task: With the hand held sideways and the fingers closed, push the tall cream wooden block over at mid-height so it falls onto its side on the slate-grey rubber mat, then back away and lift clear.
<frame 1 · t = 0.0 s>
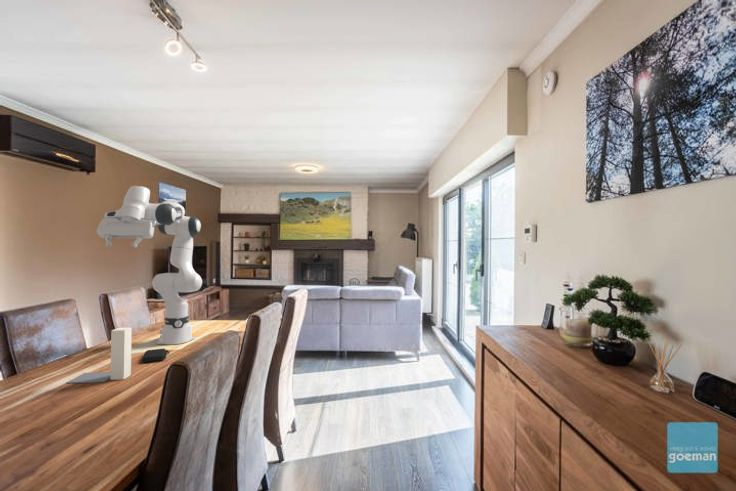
hand: (121, 246, 136), 54 cm above the table, tool tilted 30°, fingers open, 8 cm apart
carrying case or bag: (155, 359, 163), on the table
slate mat: (93, 378, 138), on the table
cream block: (120, 377, 139), on the table
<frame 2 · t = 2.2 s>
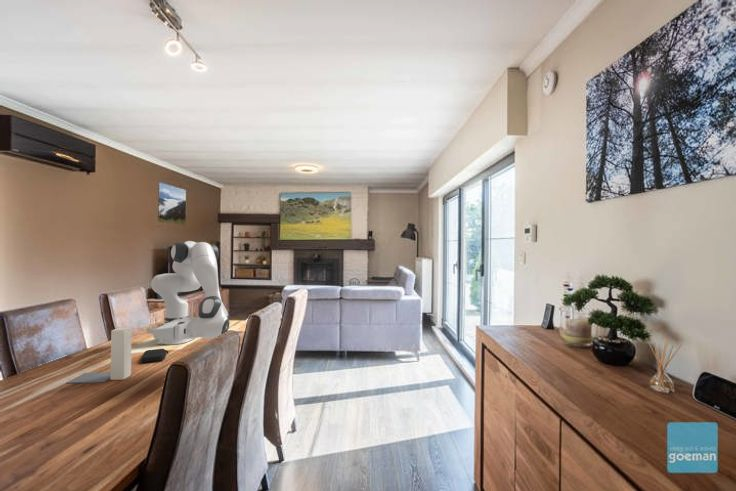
hand: (152, 328, 141), 20 cm above the table, tool horizontal, fingers open, 7 cm apart
nothing on the table moved.
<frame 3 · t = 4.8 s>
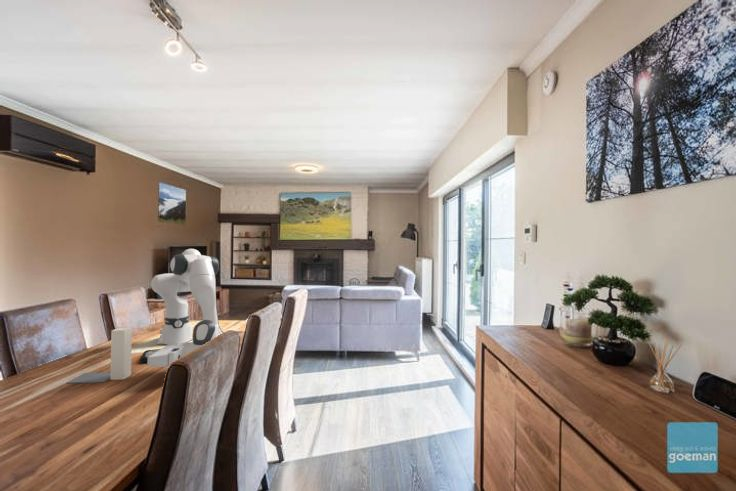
hand: (147, 353, 140), 9 cm above the table, tool horizontal, fingers closed
nothing on the table moved.
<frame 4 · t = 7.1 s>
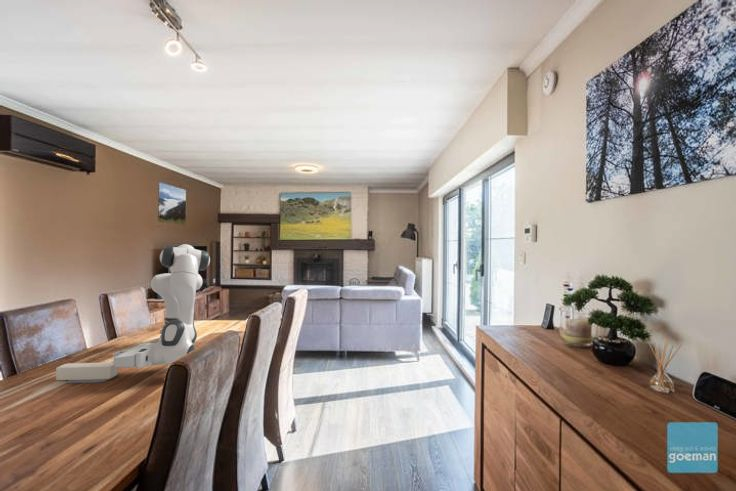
hand: (115, 354, 139), 9 cm above the table, tool horizontal, fingers closed
cream block: (114, 370, 139), point 3 cm above the table, tilted 90°, touching slate mat
everything else where it was.
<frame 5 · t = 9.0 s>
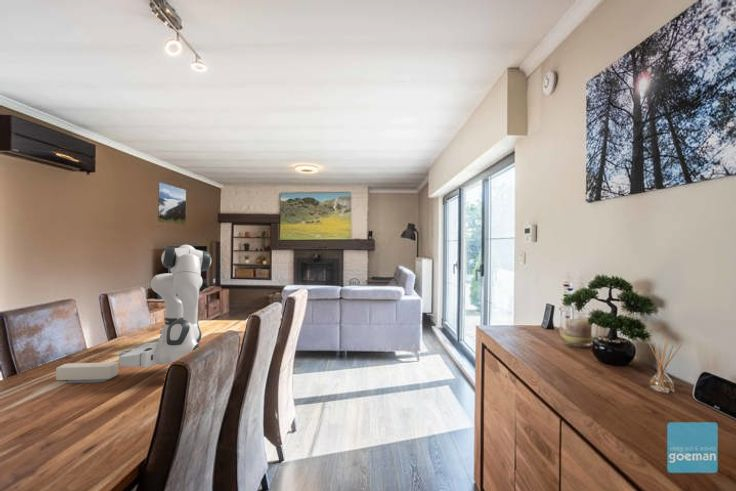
hand: (120, 353, 139), 10 cm above the table, tool horizontal, fingers closed
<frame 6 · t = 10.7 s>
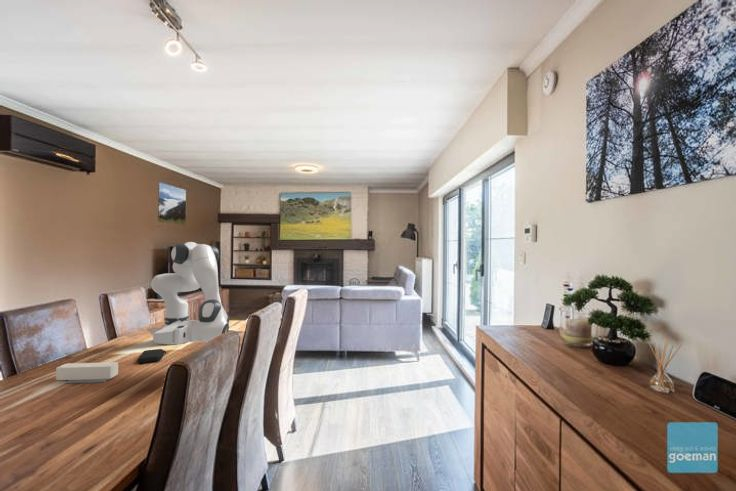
hand: (152, 331, 141), 19 cm above the table, tool horizontal, fingers closed
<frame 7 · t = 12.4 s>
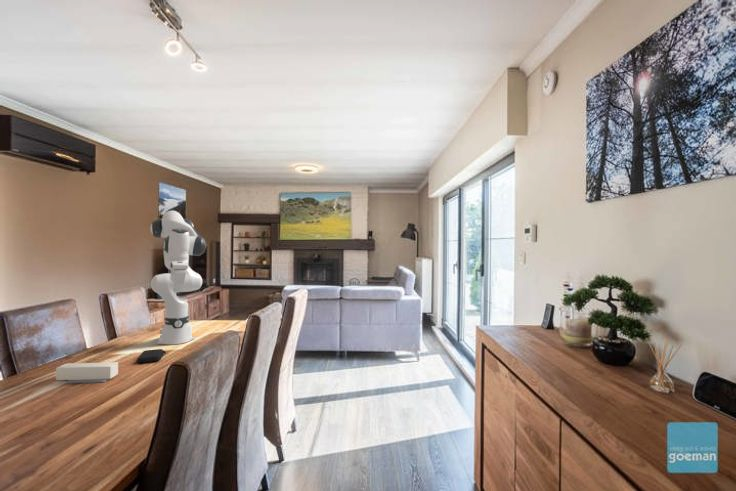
hand: (176, 292, 159), 33 cm above the table, tool pointing down, fingers closed
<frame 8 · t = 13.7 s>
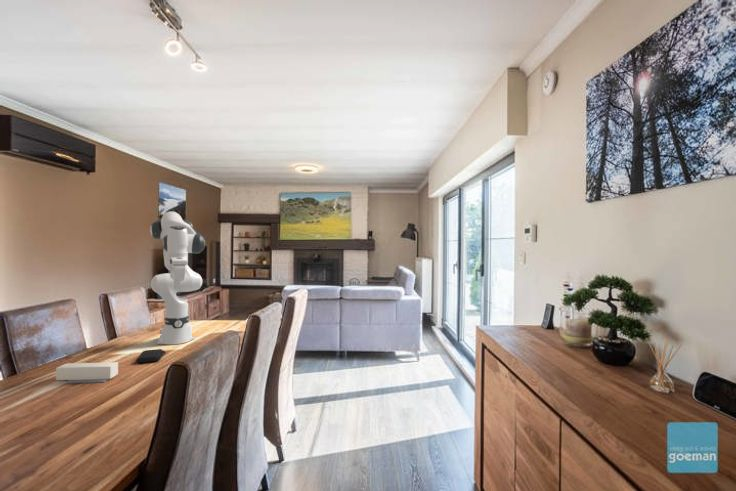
hand: (176, 289, 160), 34 cm above the table, tool pointing down, fingers closed
at the end: cream block tilted 90°; cream block touching slate mat; cream block moved 3.9 cm from its start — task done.
